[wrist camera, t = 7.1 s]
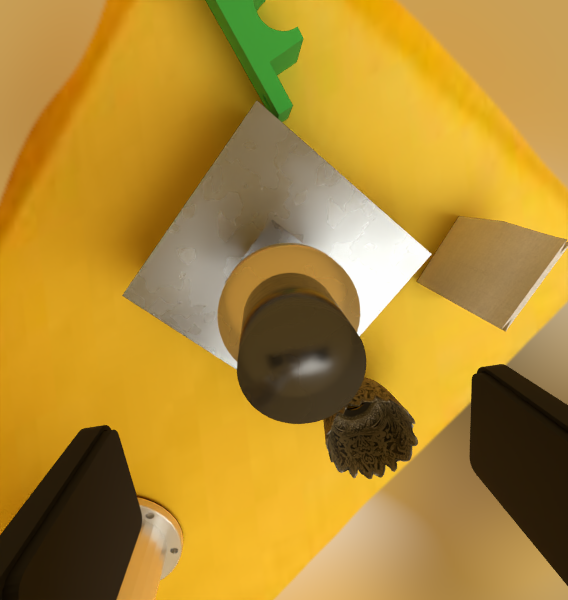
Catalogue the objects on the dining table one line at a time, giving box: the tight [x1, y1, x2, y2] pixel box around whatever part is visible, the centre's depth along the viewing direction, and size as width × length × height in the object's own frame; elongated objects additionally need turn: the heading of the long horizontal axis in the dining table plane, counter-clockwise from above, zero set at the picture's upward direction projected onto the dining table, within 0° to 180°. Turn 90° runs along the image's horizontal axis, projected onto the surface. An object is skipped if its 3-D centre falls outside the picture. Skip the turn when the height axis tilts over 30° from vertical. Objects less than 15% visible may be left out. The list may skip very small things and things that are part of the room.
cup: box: [324, 378, 418, 479], centre depth 32 cm, size 8×7×8 cm
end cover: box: [217, 243, 366, 424], centre depth 17 cm, size 7×7×11 cm
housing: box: [122, 101, 431, 369], centre depth 28 cm, size 16×16×6 cm
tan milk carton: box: [417, 216, 568, 331], centre depth 28 cm, size 4×7×10 cm, turn 152°
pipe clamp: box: [206, 0, 303, 122], centre depth 24 cm, size 11×4×5 cm, turn 31°
